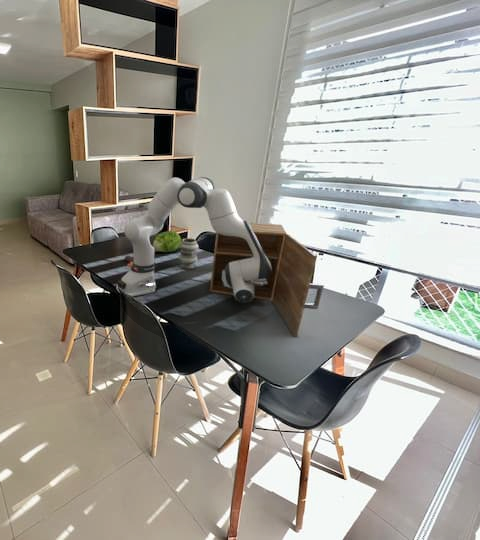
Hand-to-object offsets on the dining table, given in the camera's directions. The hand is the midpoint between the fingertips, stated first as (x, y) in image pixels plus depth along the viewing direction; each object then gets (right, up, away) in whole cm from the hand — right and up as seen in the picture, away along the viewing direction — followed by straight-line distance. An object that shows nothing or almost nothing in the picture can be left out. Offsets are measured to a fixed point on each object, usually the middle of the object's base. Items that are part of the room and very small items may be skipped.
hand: (243, 271), depth 147 cm
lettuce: (-29, +15, +68) cm, 76 cm away
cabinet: (+2, -9, +7) cm, 12 cm away
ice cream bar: (-56, +6, +47) cm, 73 cm away
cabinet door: (+12, -20, -20) cm, 31 cm away
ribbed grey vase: (-20, +3, +39) cm, 43 cm away
